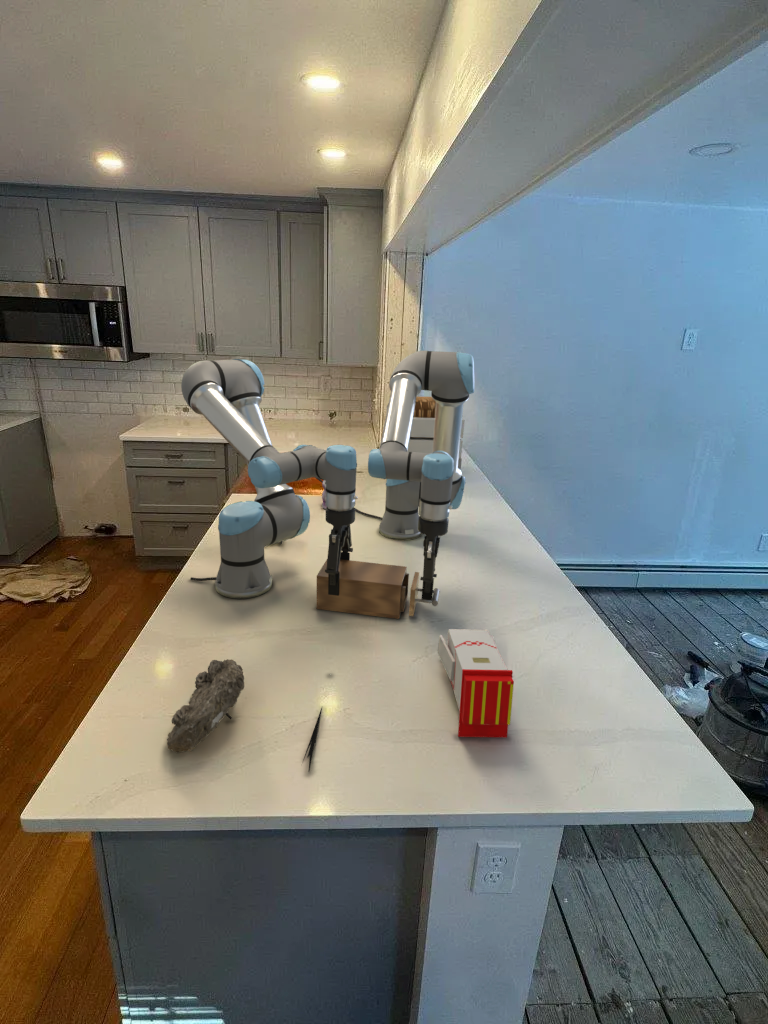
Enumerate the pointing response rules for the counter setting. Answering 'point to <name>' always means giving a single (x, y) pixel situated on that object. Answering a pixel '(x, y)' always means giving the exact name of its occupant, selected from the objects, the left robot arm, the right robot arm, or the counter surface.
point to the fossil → (206, 705)
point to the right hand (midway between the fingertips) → (426, 601)
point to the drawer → (415, 594)
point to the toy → (478, 682)
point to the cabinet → (363, 589)
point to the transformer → (426, 427)
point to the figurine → (324, 495)
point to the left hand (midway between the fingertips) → (339, 584)
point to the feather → (313, 740)
